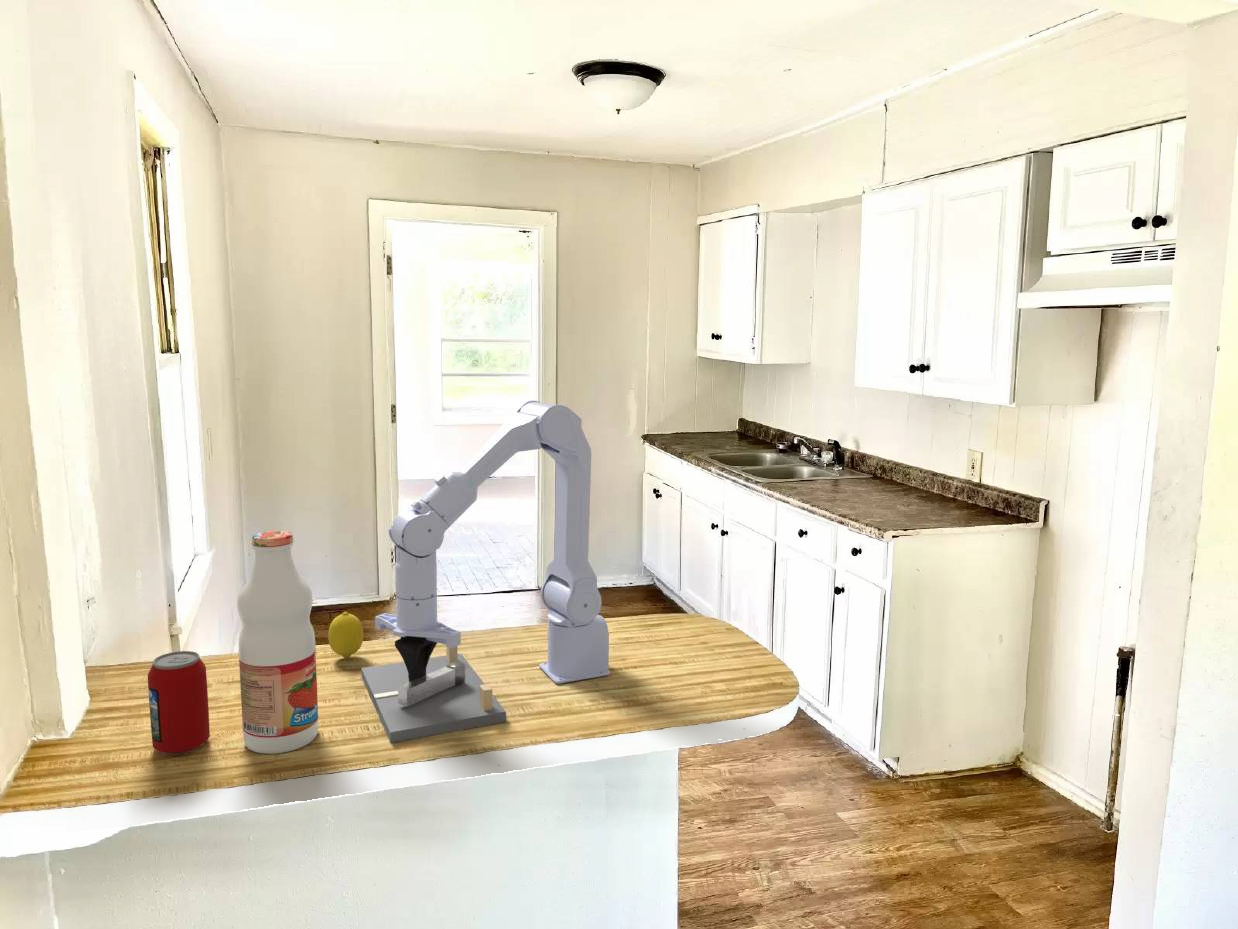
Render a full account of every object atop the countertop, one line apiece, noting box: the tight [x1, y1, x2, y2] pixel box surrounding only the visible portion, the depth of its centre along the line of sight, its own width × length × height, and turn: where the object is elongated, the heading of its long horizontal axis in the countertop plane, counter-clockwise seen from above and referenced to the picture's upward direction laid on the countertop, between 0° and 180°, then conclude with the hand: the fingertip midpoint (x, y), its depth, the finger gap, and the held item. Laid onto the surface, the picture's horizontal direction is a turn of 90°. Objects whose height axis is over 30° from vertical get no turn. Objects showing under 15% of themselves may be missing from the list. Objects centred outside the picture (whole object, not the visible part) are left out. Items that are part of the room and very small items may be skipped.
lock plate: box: [360, 646, 507, 744], centre depth 128 cm, size 16×24×4 cm, turn 25°
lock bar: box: [398, 662, 465, 707], centre depth 126 cm, size 12×3×2 cm, turn 146°
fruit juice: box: [236, 530, 319, 755], centre depth 113 cm, size 9×9×28 cm
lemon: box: [327, 611, 364, 659], centre depth 143 cm, size 6×6×8 cm
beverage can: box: [147, 650, 211, 756], centre depth 112 cm, size 7×7×12 cm
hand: (417, 684), depth 125 cm, fingers closed, pressing on lock bar
